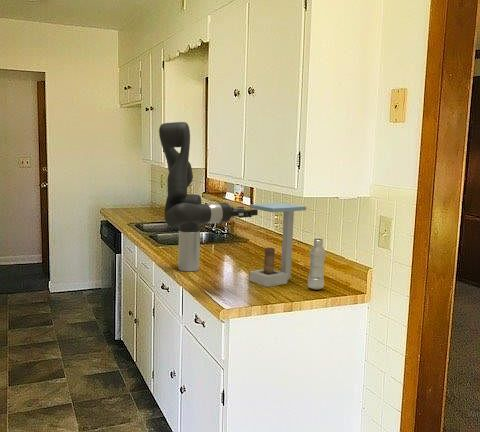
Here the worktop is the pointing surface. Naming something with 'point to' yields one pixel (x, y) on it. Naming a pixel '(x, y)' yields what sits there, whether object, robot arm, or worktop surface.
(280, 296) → the worktop surface
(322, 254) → the plastic bottle
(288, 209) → the socket stand
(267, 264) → the peg
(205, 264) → the worktop surface
